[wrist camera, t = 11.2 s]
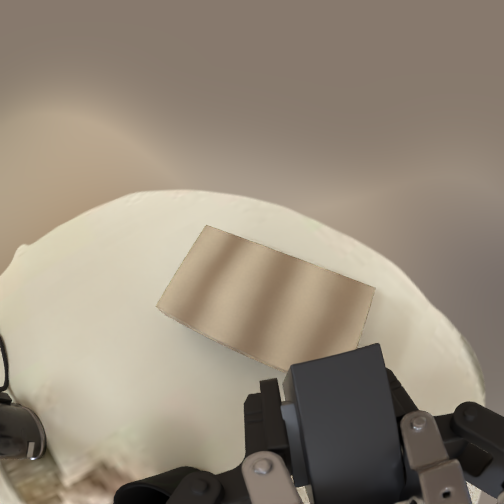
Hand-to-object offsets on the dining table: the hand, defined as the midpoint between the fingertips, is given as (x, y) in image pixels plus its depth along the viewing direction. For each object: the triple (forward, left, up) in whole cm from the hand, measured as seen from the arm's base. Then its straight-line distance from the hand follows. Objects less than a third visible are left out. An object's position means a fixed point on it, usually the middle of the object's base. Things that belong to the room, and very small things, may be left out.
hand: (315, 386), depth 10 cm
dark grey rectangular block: (+1, -2, -8) cm, 8 cm away
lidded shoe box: (-6, +7, -22) cm, 24 cm away
